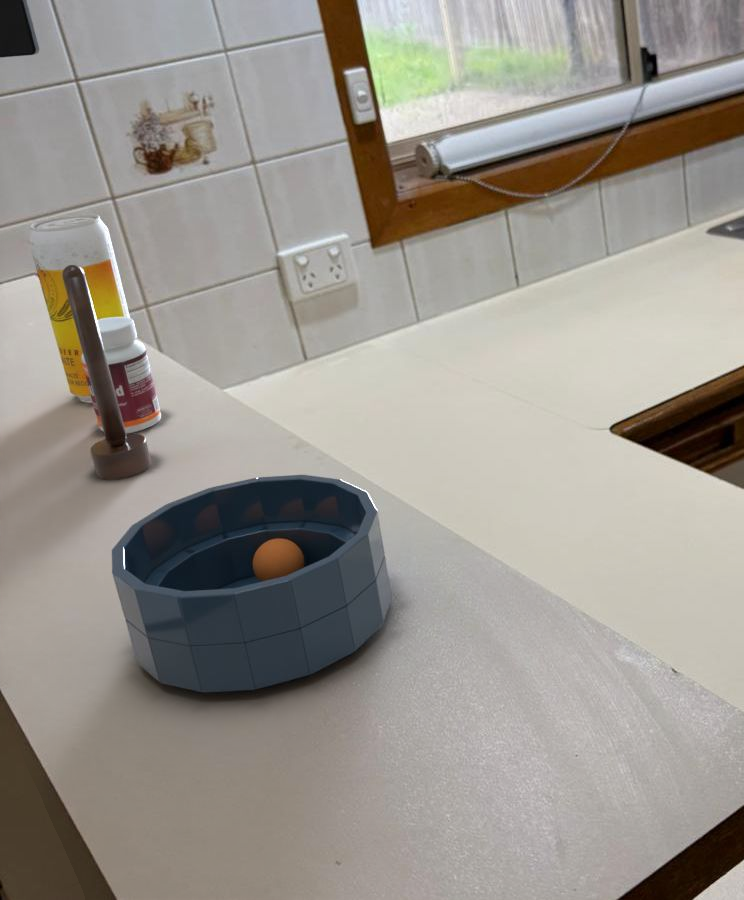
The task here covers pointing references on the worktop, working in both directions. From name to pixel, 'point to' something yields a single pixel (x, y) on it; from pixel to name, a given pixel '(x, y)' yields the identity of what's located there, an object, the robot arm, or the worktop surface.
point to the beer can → (93, 252)
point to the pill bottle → (127, 374)
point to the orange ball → (277, 559)
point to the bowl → (252, 583)
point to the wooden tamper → (103, 390)
